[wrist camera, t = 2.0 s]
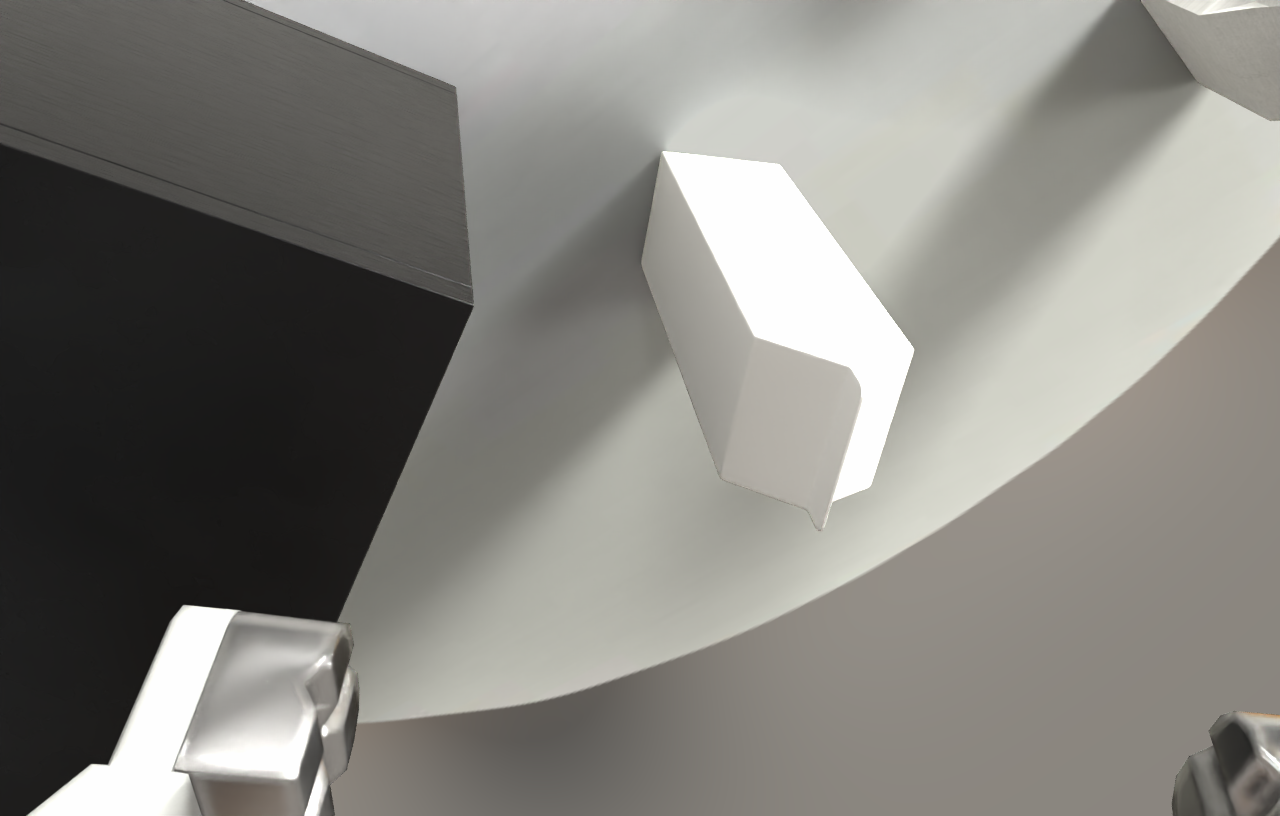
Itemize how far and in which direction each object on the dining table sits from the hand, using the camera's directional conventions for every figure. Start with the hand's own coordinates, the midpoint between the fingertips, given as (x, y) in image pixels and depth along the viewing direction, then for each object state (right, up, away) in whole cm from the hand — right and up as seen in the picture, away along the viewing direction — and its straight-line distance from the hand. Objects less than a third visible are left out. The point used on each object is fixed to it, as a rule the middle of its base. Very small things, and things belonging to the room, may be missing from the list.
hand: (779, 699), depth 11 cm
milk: (+2, +12, +48) cm, 49 cm away
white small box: (+25, +22, +46) cm, 57 cm away
